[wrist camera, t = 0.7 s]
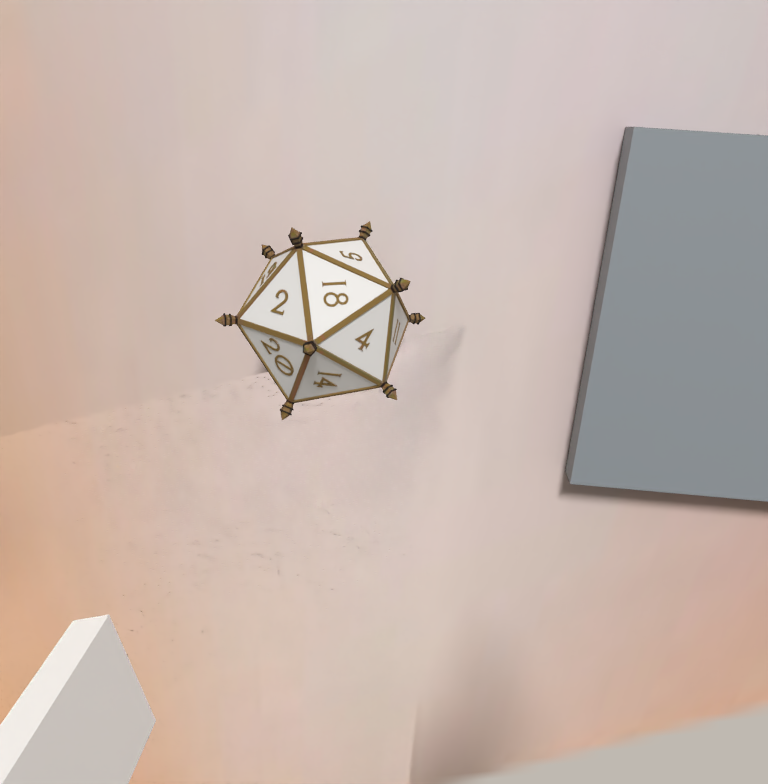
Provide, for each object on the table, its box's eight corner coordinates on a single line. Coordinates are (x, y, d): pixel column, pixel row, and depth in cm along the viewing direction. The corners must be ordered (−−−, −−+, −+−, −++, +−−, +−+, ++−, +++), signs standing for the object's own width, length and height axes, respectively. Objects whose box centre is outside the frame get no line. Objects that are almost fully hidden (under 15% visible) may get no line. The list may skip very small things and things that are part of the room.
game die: (437, 360, 37) (437, 437, 28) (285, 388, 38) (236, 471, 29) (403, 190, 34) (390, 212, 25) (239, 226, 35) (168, 260, 26)
